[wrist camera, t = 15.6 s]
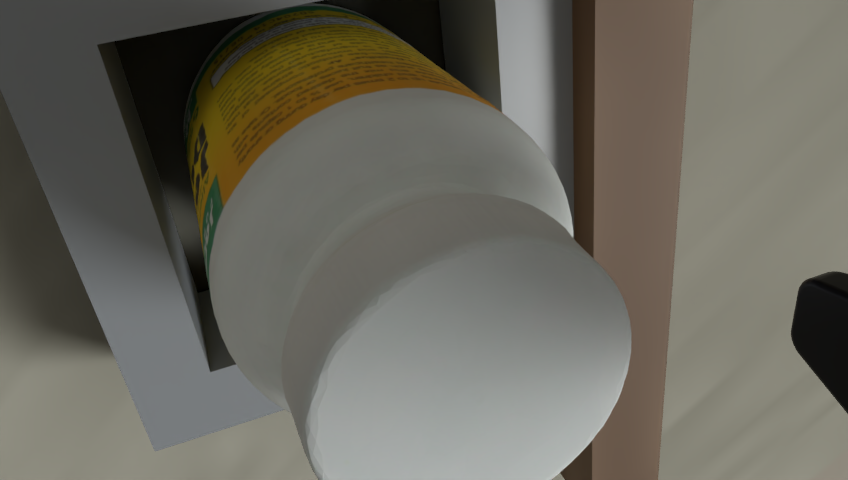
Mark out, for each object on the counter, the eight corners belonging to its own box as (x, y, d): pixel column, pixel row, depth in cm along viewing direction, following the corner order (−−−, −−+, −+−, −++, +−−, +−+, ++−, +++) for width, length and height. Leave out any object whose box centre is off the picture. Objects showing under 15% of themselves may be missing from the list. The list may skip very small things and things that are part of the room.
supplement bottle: (450, 177, 18) (703, 449, 10) (244, 268, 17) (344, 638, 9) (382, -45, 15) (664, 96, 7) (130, 54, 14) (135, 333, 6)
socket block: (495, -149, 15) (570, -144, 12) (517, 254, 20) (574, 315, 17) (-21, -68, 12) (-57, -43, 10) (150, 362, 17) (155, 451, 15)
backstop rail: (578, -598, 12) (750, -758, 9) (582, 399, 23) (657, 493, 20) (464, -597, 12) (600, -766, 8) (524, 420, 23) (591, 519, 20)
